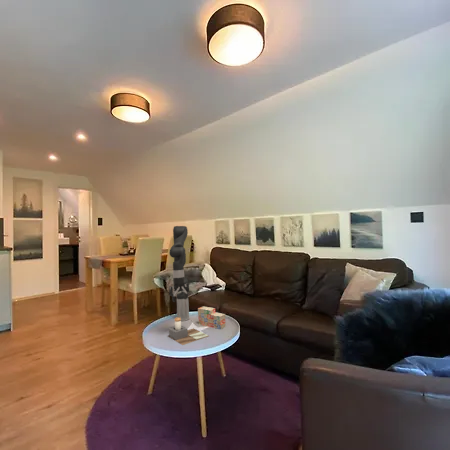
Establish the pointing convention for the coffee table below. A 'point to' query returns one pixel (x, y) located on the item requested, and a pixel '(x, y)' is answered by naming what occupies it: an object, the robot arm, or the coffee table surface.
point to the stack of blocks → (211, 318)
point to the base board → (191, 337)
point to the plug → (177, 323)
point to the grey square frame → (178, 333)
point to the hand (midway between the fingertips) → (179, 300)
